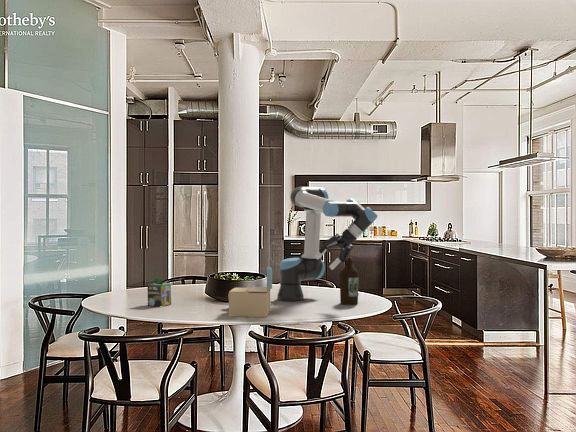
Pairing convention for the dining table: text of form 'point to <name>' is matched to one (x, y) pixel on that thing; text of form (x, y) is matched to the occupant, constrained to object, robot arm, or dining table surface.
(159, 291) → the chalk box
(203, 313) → the dining table surface
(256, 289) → the flap
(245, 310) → the carton
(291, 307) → the dining table surface
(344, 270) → the olive oil
